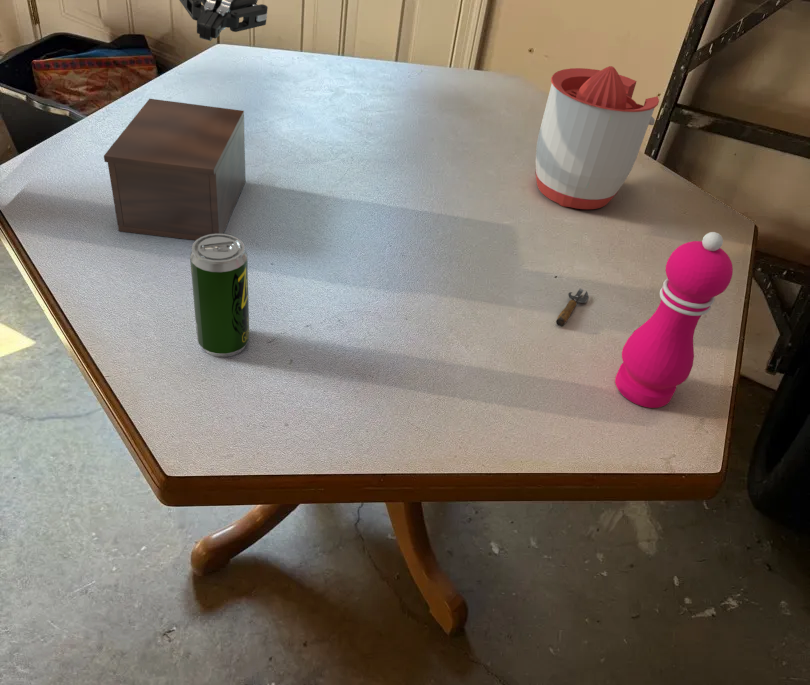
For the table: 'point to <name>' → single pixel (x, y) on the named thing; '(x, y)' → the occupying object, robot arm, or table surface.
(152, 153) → the lid
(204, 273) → the beer can
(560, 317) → the can opener
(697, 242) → the pepper mill
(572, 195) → the citrus juicer
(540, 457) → the table surface
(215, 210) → the chest
